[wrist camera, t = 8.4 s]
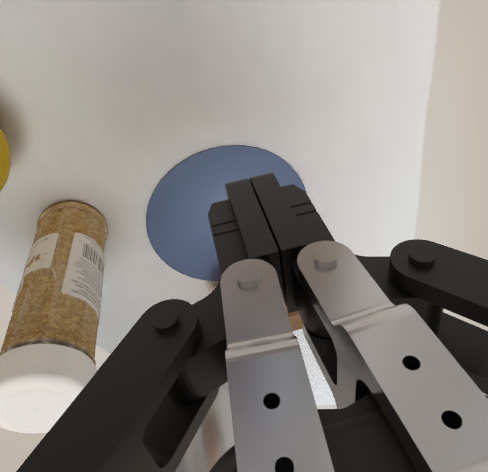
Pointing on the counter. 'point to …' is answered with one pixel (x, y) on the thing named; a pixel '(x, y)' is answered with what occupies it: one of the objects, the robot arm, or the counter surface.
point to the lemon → (4, 160)
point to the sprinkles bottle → (53, 319)
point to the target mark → (203, 204)
